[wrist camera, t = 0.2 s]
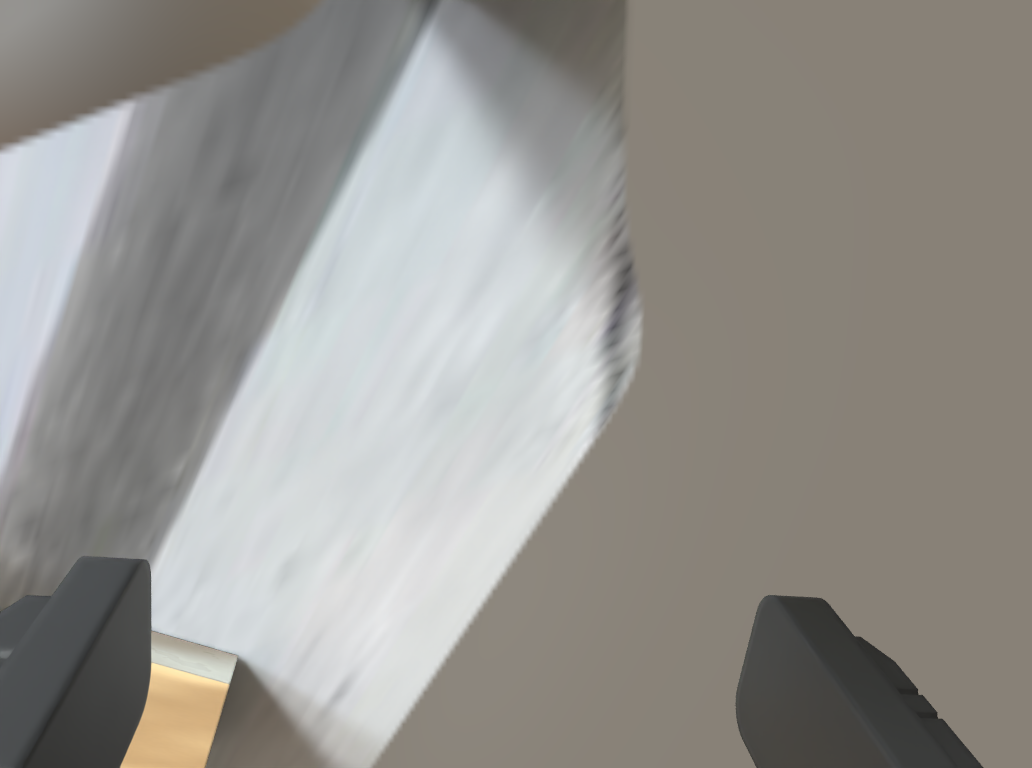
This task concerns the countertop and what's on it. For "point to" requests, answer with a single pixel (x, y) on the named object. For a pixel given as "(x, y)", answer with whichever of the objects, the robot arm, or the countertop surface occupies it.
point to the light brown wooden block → (181, 705)
